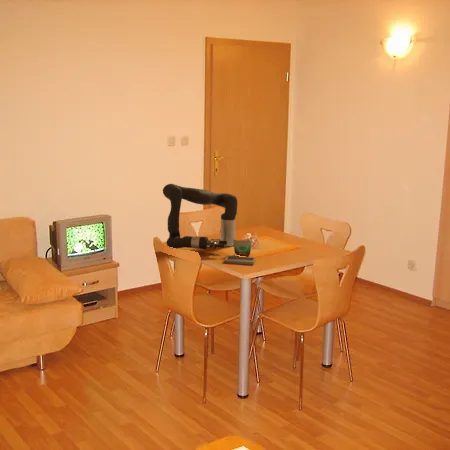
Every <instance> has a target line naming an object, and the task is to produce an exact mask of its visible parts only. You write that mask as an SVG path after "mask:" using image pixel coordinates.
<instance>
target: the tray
mask: <svg viewBox="0 0 450 450" xmlns="http://www.w3.org/2000/svg"><path fill="white" fill-rule="evenodd" d="M256 259H257V258H256V257H251V256H248V257H239V256H235V255H226V257H225V258H224V261H223V262H224V264H231V265H245V266H246V265H247V266H254V265H255V263H256Z"/></svg>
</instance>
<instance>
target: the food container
mask: <svg viewBox="0 0 450 450" xmlns="http://www.w3.org/2000/svg"><path fill="white" fill-rule="evenodd" d="M233 243H234V246H233V251H234V255H235V254H236V255H240V256H248V257H250V256H251V251H252V250H251V249H252V245H253V239H240V240H237V239H235V240H233ZM249 255H250V256H249Z"/></svg>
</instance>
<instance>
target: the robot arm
mask: <svg viewBox="0 0 450 450" xmlns="http://www.w3.org/2000/svg"><path fill="white" fill-rule="evenodd" d="M162 195H163V196H164V197H165V198H166V199H168V200H169V201H170V211H169V214H168V217H167V232H168V233H169V236H168V238H167V240H166V246H167V247H168V246H169V247H168V248H170V247H173V248H176V249H183V248H188V249H197V250H199V249H200V250H208V249H212V250H213V249H219V248H220V249H225V247H227V246H230V247H234V246H233V245H234V243H233V240H236V216H237V214H238V197H237V196H236V195H234V194H230V193H228V192H227V193H223V192H222V193H218V192H213V191H210V190H207V189H200V188H193V187H187V186H185V187H184V186H180V185H178V184H175V183H169V184H166V185H164V187H163V188H162ZM183 200H184V201H187V202H190V203H193V204H196V205H203V206H204V205H205V206H208V205H215V206H219V207H221V208H224V209H225V210H224V213H222V214H221V215H220V238H210V240H209V238H208V236H198V235H197V236H196V235H194V236H191V235H185V236H183V237H181V232H180V213H181V207H182V206H181V205H182V201H183ZM173 248H172V249H173Z"/></svg>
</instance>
